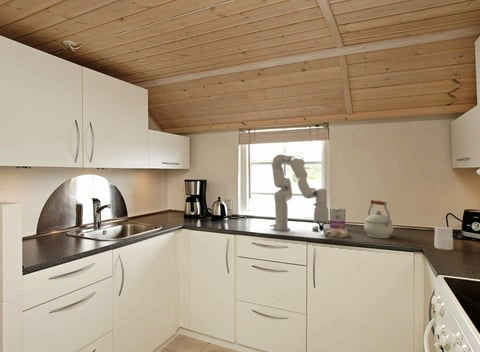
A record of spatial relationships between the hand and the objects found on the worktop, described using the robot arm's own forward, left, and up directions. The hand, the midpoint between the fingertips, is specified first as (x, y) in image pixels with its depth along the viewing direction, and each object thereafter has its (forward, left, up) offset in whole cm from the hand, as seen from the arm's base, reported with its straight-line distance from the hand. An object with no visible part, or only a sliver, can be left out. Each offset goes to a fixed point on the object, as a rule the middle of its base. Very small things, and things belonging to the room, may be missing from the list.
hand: (321, 230), depth 202 cm
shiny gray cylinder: (-3, +13, -3) cm, 14 cm away
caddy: (+11, 0, -3) cm, 11 cm away
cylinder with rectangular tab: (+68, -23, -3) cm, 72 cm away
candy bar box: (+15, +25, -3) cm, 29 cm away
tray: (+9, 0, -2) cm, 9 cm away
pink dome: (+10, 0, -1) cm, 10 cm away
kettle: (+39, +5, -3) cm, 39 cm away
